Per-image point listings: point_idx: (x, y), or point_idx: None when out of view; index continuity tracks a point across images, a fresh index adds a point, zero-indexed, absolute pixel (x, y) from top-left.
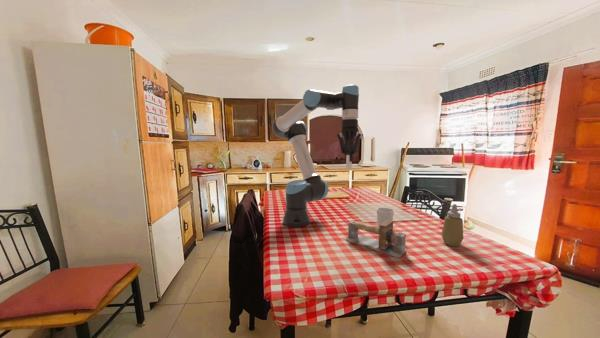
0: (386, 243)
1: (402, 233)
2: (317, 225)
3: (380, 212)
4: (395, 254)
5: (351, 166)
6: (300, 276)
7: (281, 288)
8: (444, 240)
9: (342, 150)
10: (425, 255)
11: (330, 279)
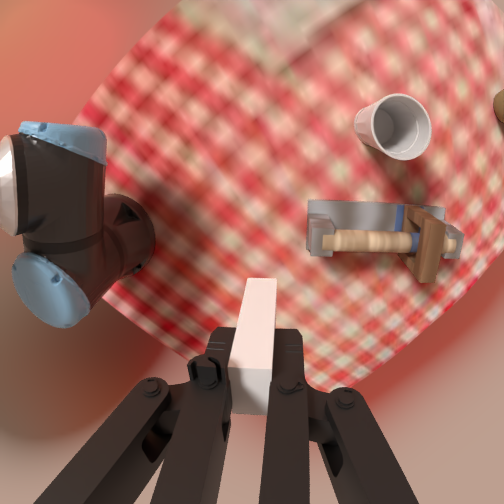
0: None
1: (458, 236)
2: (175, 210)
3: (393, 157)
4: None
5: (276, 287)
6: None
7: None
8: (500, 118)
9: (162, 445)
10: (473, 204)
11: (348, 375)
